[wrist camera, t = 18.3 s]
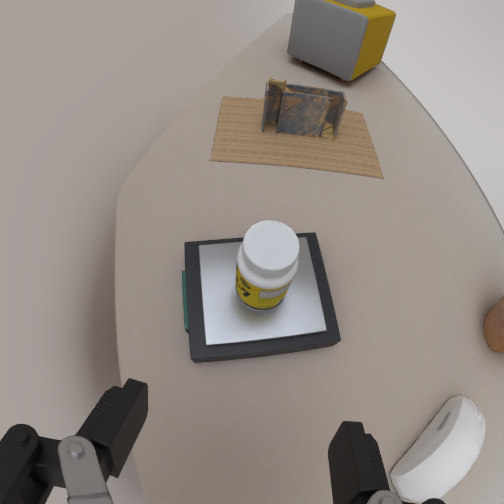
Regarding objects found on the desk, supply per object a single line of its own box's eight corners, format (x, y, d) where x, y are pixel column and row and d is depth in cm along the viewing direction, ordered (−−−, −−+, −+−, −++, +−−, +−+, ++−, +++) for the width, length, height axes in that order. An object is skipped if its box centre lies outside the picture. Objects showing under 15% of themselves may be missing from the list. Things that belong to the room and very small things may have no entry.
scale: (189, 363, 28) (186, 359, 26) (183, 253, 34) (180, 242, 32) (333, 345, 30) (341, 340, 28) (310, 243, 35) (315, 232, 33)
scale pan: (206, 346, 27) (205, 345, 26) (199, 248, 31) (198, 244, 31) (324, 332, 28) (327, 330, 27) (304, 240, 33) (306, 236, 32)
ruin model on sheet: (210, 160, 41) (208, 102, 32) (222, 96, 48) (223, 48, 40) (383, 178, 42) (410, 130, 33) (361, 113, 50) (377, 70, 41)
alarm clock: (324, 44, 65) (337, -16, 49) (379, 69, 61) (399, 7, 45) (281, 61, 57) (292, -14, 41) (346, 90, 53) (369, 11, 37)
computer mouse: (475, 421, 25) (509, 417, 20) (410, 506, 21) (441, 518, 15) (450, 391, 27) (485, 383, 22) (379, 478, 23) (410, 489, 17)
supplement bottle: (230, 269, 30) (231, 219, 22) (278, 260, 30) (293, 210, 23) (241, 317, 27) (246, 280, 20) (291, 306, 28) (314, 267, 21)
